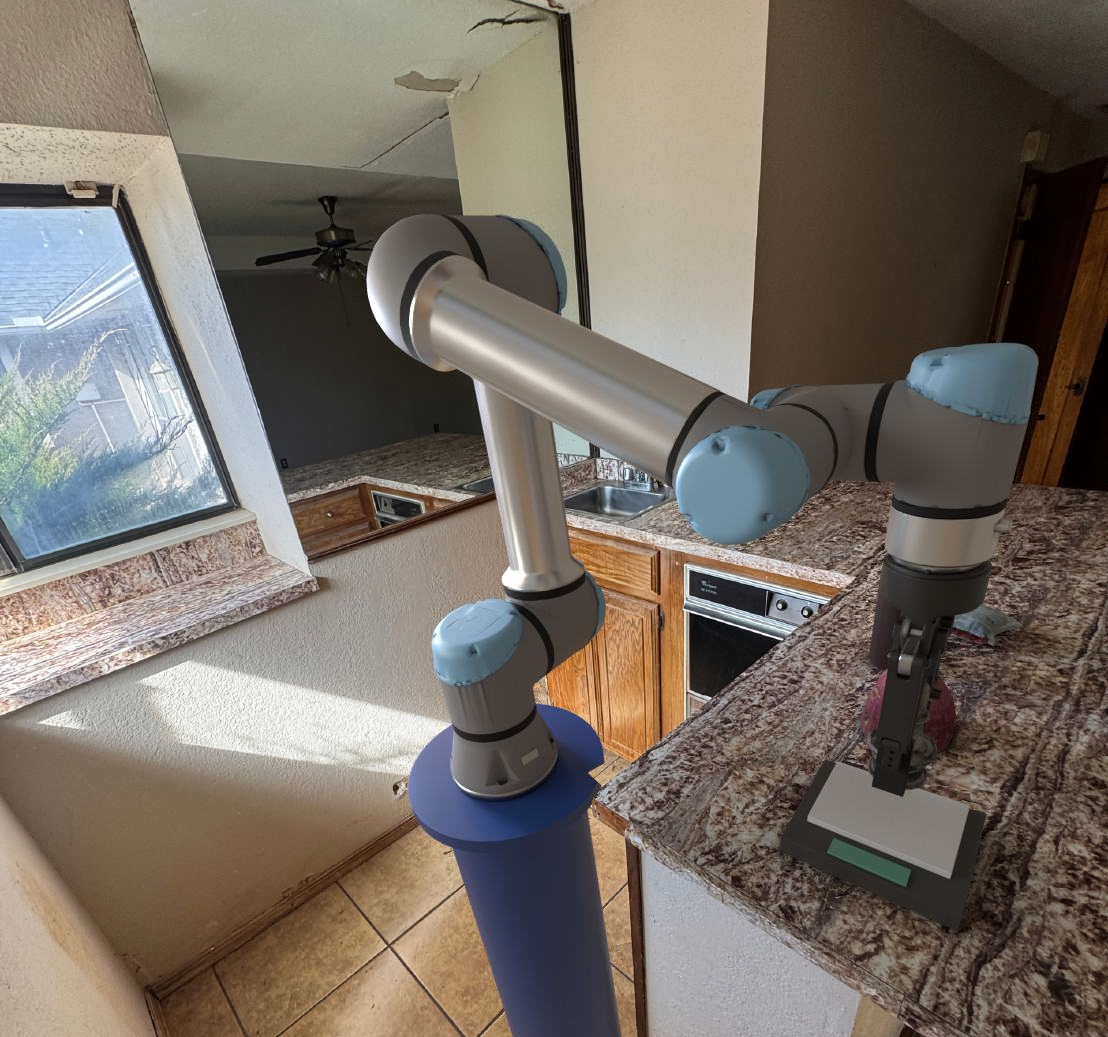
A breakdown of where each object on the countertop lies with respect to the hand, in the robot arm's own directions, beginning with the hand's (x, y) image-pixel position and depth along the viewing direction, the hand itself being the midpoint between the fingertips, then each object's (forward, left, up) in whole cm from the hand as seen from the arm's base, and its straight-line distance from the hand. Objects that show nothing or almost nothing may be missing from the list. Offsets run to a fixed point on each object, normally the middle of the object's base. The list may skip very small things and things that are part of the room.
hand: (896, 768), depth 57 cm
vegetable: (-2, +18, -9) cm, 21 cm away
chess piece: (0, 0, 0) cm, 0 cm away
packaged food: (0, +48, -9) cm, 49 cm away
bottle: (-7, +34, -9) cm, 36 cm away
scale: (0, -2, -9) cm, 9 cm away
